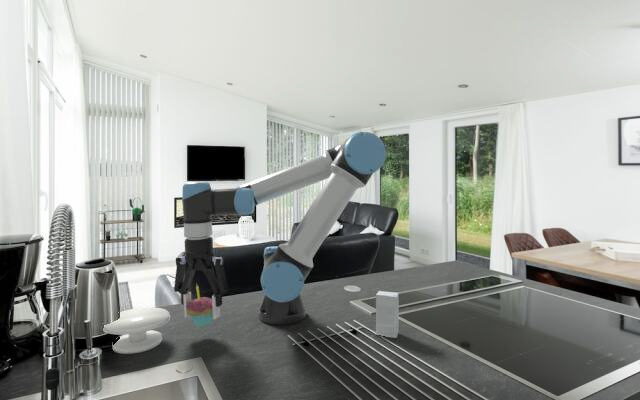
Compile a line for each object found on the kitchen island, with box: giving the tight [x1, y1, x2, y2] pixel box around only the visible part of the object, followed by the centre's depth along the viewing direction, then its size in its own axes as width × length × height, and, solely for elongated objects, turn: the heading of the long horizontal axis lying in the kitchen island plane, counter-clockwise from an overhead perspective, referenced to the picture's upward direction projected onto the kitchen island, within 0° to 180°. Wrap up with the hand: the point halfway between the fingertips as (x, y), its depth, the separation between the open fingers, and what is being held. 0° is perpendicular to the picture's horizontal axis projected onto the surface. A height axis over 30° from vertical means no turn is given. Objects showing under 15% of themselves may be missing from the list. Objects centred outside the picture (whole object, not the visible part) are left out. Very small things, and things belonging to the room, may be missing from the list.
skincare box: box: [375, 290, 400, 339], centre depth 107 cm, size 6×4×12 cm
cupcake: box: [186, 283, 213, 327], centre depth 105 cm, size 9×8×12 cm
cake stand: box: [102, 306, 171, 355], centre depth 101 cm, size 17×17×7 cm
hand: (202, 316), depth 105 cm, fingers closed on cupcake, 8 cm apart
